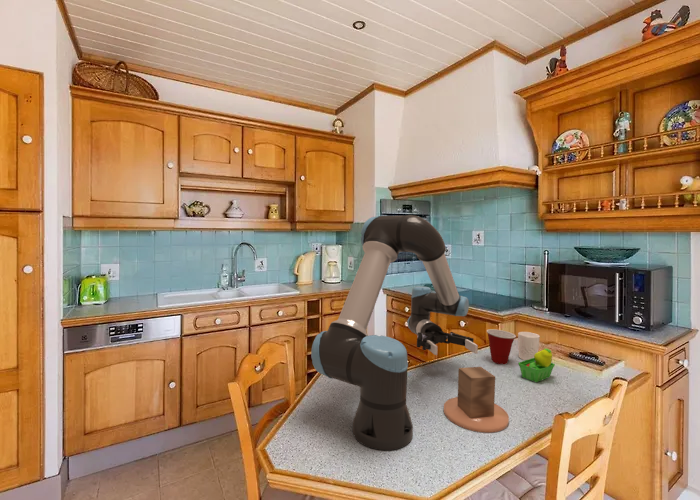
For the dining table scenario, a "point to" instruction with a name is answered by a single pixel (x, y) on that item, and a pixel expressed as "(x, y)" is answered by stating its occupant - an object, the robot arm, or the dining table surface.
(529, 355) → the white cup
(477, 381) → the walnut block
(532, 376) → the fruit basket
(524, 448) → the dining table surface
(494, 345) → the plastic cup
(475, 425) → the dish
